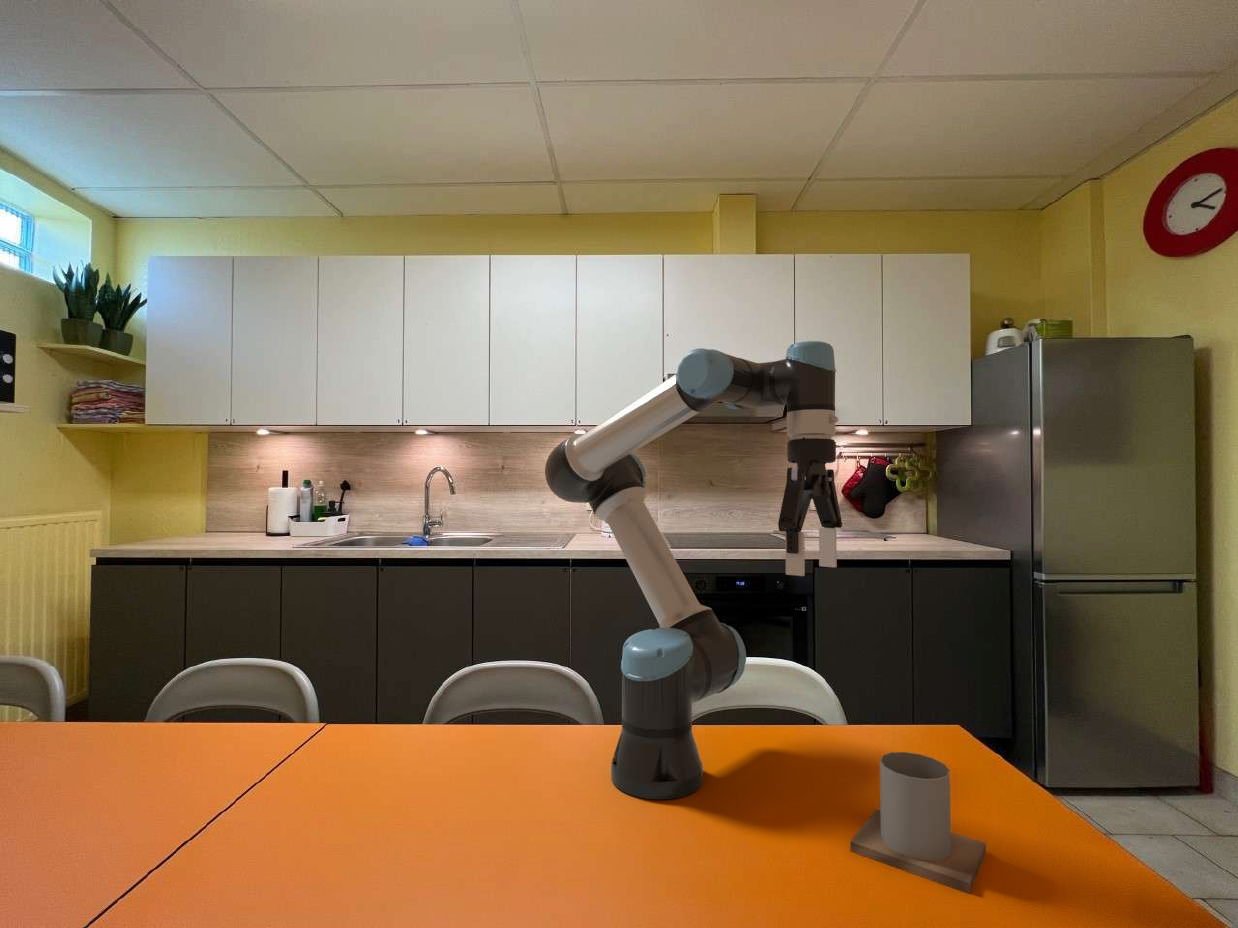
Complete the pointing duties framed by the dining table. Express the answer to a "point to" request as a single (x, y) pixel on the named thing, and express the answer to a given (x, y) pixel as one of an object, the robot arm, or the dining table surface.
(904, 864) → the walnut board
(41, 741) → the dining table surface
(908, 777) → the cup
